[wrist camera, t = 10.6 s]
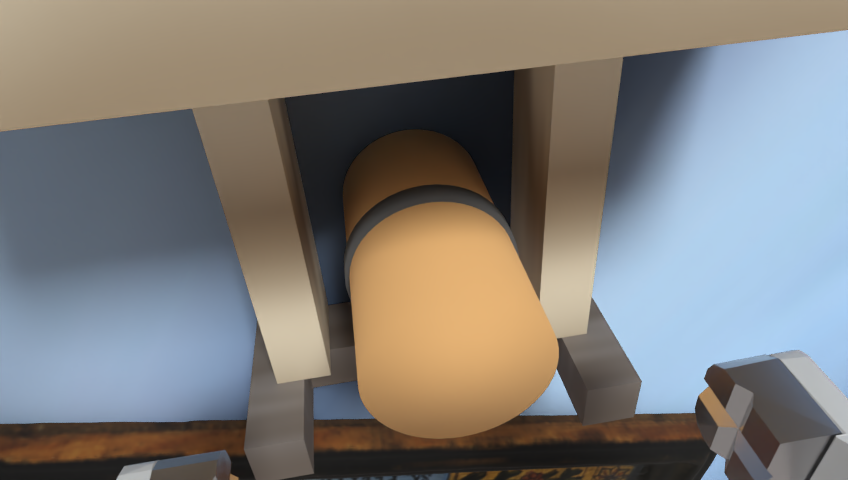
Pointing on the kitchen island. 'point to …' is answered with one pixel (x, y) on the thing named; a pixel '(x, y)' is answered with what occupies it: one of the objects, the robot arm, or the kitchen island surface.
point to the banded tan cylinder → (438, 293)
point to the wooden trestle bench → (361, 68)
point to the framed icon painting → (377, 449)
